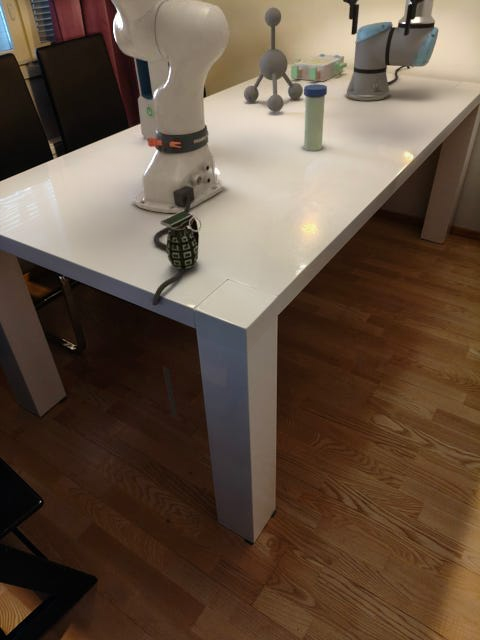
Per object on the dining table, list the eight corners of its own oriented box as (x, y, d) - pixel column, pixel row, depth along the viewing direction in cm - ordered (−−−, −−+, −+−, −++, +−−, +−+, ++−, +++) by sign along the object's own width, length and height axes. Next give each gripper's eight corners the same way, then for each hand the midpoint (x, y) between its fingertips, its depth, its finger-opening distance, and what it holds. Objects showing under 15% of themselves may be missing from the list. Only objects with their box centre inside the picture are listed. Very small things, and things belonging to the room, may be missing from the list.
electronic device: (141, 137, 154) (123, 28, 136) (159, 131, 158) (144, 24, 140) (166, 145, 147) (151, 30, 129) (185, 138, 151) (172, 26, 133)
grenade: (182, 278, 88) (175, 228, 82) (162, 268, 91) (153, 219, 85) (208, 263, 92) (203, 214, 85) (187, 253, 95) (181, 205, 89)
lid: (303, 91, 133) (303, 84, 132) (326, 91, 133) (326, 83, 132) (303, 97, 129) (304, 90, 128) (327, 96, 128) (327, 89, 127)
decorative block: (312, 52, 220) (353, 55, 210) (311, 68, 224) (351, 71, 214) (282, 63, 204) (325, 66, 194) (282, 79, 208) (324, 84, 198)
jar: (303, 145, 142) (305, 86, 132) (321, 144, 141) (324, 86, 132) (304, 151, 138) (306, 91, 128) (322, 150, 137) (325, 90, 128)
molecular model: (322, 103, 175) (328, 5, 157) (274, 116, 166) (273, 12, 147) (282, 92, 191) (282, 1, 172) (235, 103, 181) (230, 8, 163)
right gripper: (334, -67, 116) (329, 35, 129) (445, -74, 107) (427, 37, 120) (343, -67, 121) (337, 31, 134) (449, -74, 112) (431, 32, 125)
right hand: (379, 34), depth 127 cm, fingers open, 13 cm apart
